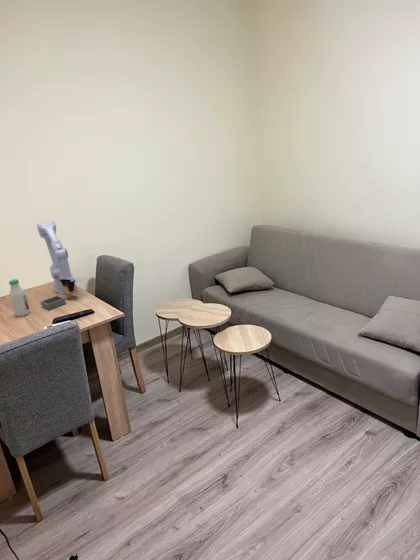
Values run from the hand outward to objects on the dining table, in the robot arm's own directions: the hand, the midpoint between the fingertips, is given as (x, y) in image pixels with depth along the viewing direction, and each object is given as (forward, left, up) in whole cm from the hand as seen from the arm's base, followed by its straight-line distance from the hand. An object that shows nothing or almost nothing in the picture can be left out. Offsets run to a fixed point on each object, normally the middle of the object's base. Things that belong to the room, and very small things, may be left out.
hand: (69, 290), depth 238 cm
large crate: (+2, -12, -5) cm, 13 cm away
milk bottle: (-3, -28, -5) cm, 29 cm away
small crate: (0, 0, -2) cm, 2 cm away
